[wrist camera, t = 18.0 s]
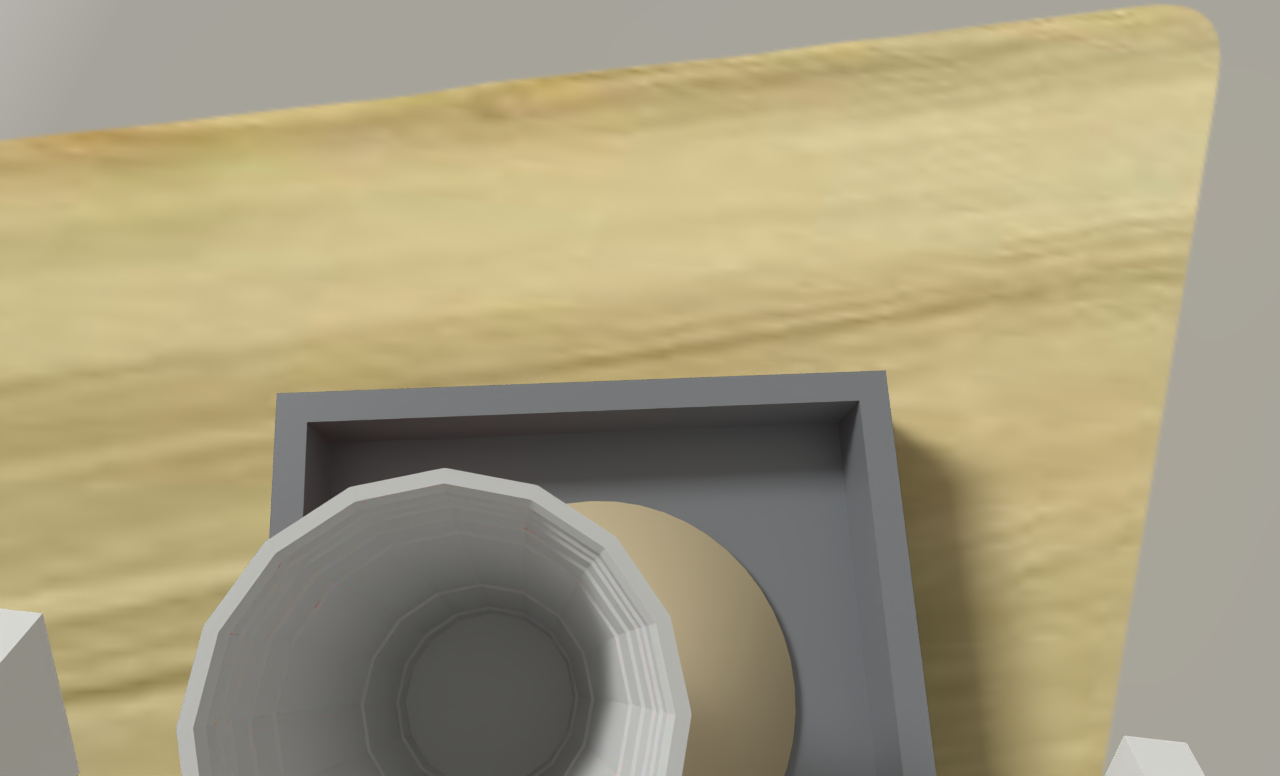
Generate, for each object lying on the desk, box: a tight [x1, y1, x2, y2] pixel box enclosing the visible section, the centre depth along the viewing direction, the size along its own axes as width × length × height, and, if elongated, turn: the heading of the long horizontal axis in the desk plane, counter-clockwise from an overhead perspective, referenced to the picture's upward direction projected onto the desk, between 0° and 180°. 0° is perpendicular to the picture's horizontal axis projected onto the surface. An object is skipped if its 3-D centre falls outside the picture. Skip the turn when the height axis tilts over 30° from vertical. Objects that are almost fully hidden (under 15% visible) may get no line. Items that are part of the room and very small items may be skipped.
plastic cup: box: [176, 468, 692, 776], centre depth 26 cm, size 11×11×12 cm
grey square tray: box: [269, 371, 936, 776], centre depth 32 cm, size 20×20×4 cm
